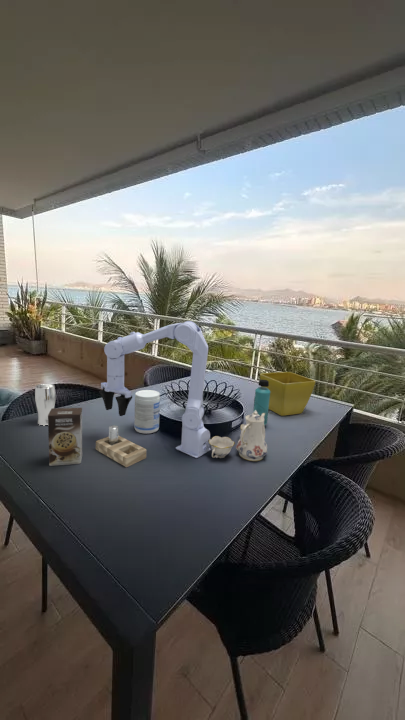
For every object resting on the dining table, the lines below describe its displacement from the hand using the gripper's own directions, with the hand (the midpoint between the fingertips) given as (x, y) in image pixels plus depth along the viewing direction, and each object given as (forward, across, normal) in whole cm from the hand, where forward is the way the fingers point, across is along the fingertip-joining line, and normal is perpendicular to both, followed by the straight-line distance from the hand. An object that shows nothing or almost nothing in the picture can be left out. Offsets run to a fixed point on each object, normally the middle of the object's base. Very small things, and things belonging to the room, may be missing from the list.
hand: (115, 412), depth 113 cm
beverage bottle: (+11, +31, +50) cm, 60 cm away
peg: (+10, +6, -5) cm, 13 cm away
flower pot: (+11, +30, +76) cm, 82 cm away
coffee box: (+11, +1, -19) cm, 22 cm away
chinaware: (+11, +38, +26) cm, 47 cm away
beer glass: (+11, -30, -10) cm, 33 cm away
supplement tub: (+11, +1, +14) cm, 18 cm away
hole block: (+10, +10, -5) cm, 15 cm away
